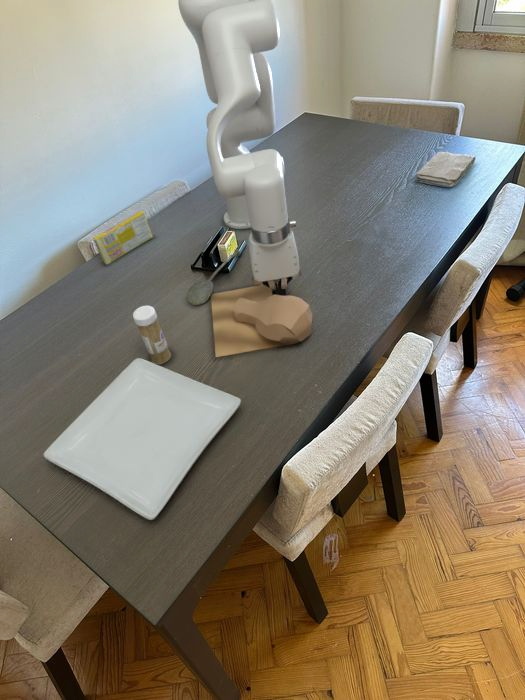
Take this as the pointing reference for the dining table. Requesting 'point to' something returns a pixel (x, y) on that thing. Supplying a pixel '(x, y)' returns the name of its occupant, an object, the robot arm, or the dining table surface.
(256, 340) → the tan flat sheet
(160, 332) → the sprinkles bottle
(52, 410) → the dining table surface
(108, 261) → the candy box
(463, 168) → the washcloth
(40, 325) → the dining table surface
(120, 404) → the square plate
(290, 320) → the squash
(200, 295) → the soupspoon
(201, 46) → the robot arm
